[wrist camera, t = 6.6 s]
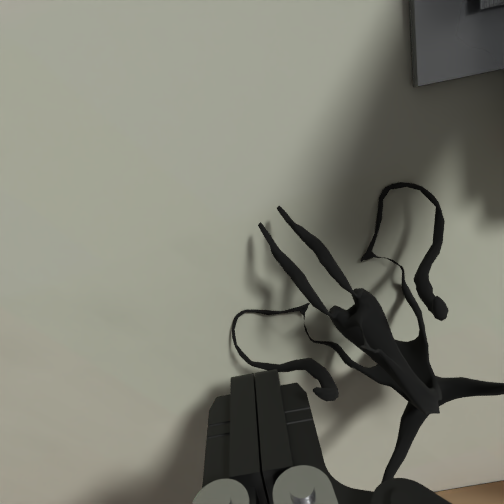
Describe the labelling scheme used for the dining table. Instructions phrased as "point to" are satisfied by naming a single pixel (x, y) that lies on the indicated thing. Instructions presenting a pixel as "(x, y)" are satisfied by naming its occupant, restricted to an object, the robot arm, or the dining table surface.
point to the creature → (378, 335)
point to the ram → (490, 3)
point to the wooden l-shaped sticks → (476, 494)
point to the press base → (454, 39)
